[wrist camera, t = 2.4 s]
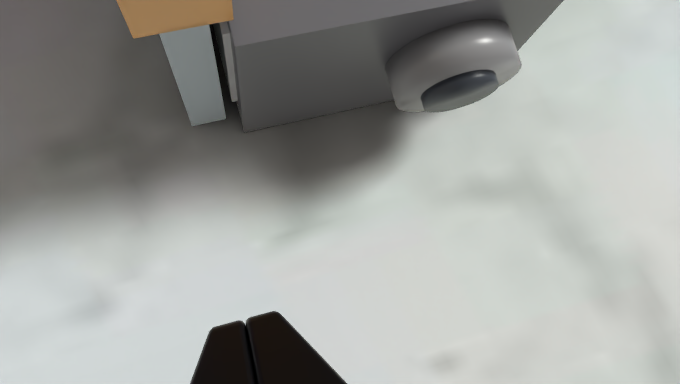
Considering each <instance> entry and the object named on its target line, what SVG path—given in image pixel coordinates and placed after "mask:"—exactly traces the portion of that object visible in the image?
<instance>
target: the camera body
mask: <svg viewBox="0 0 680 384" xmlns="http://www.w3.org/2000/svg"><path fill="white" fill-rule="evenodd" d="M562 2H563V0H232V8H233V18H234V20H231V21H225V22H220V23H214V24H213V27H214V31H215V35H216V39H217V43H218V47H219V51H220V55H221V60H222V64H223V68H224V72H225V76H226V80H227V84H228V88H229V92H230V96H231V100H232V102H234V101H236V102H237V106H238V110H239V114H240V118H241V122H242V126H243V130H244V133H245V132H249V131H254V130H258V129H263V128H268V127H272V126H277V125H281V124H286V123H291V122H295V121H300V120H304V119H309V118H314V117H318V116H323V115H327V114H332V113H337V112H341V111H346V110H350V109H355V108H360V107H364V106H369V105H373V104H378V103H383V102H387V101H392V100H394V101H395V104H396V107H397V108H398V109H399V110H401V111H406V112H423V111H427V112H443V111H448V110H453V109H456V108H460V107H463V106H466V105H469V104H471V103H474V102H476V101H479V100H481V99H483V98H485V97H486V96H488V95H490V94H491V93H493V92H494V91H495V90H496V89H497V88H498V87H499V86H501V85H502V84H504V83H505V82H507V81H508V80H510V79H511V78H512V77H514V76H515V75H516V74H517V73H518V71H519V70H520V68H521V65H522V64H521V61H520V58H519V55H518V52H517V51H518V50H519V49H520V48H521V47H522V45H523V44H524V43H525V42H526V41H527V40H528V39H529V38H530V37H531V36H532V35H533V33H534V32H535V31H536V30H537V29H538V28H539V27H540V26H541V25H542V24H543V22H544V21H545V20H546V19H547V18H548V17H549V16H550V15H551V14H552V13H553V11H554V10H555V9H556V8H557V7H558V6H559V5H560V4H561V3H562Z"/></svg>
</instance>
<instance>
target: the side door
mask: <svg viewBox="0 0 680 384" xmlns="http://www.w3.org/2000/svg"><path fill="white" fill-rule="evenodd" d="M116 1H117V3H118V6H119V8H120V10H121V12H122V14H123V17H124V19H125V21H126V23H127V25H128V28H129V30H130V32H131V34H132V37H133V39H134V38H139V37H145V36H150V35H156V34H159V35H160V38H161V41H162V44H163V46H164V49H165V52H166V55H167V58H168V60H169V63H170V66H171V69H172V72H173V74H174V77H175V80H176V83H177V86H178V88H179V91H180V94H181V97H182V100H183V102H184V105H185V108H186V111H187V114H188V116H189V119H190V122H191V125H192V126H195V125H200V124H204V123H209V122H214V121H219V120H223V119H226V114H225V109H224V103H223V98H222V92H221V87H220V81H219V76H218V70H217V65H216V60H215V54H214V49H213V43H212V38H211V32H210V27H209V24H214V23H220V22H225V21H231V20H234V18H233V8H232V0H116Z"/></svg>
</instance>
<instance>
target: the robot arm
mask: <svg viewBox="0 0 680 384" xmlns="http://www.w3.org/2000/svg"><path fill="white" fill-rule="evenodd" d="M190 384H347V383H346V382H345V381H344V380H343V379H342V378H341V377H340V376H339V375H338V373H337V372H336V371H335V370H334V369H333V368H332V367H331V366H330V365H329V364H328V363H327V362H326V361H325V360H324V359H323V358H322V357H321V356H320V355H319V354H318V353H317V351H316V350H315V349H314V348H313V347H312V346H311V345H310V344H309V343H308V342H307V341H306V340H305V339H304V338H303V337H302V336H301V335H300V334H299V333H298V332H297V331H296V330H295V328H294V327H293V326H292V325H291V324H290V323H289V322H288V321H287V320H286V319H285V318H284V317H283V316H282V315H281V314H280V313H278V312H276V311H272V312H268V313H265V314H261V315H257V316H253V317H250V318H248V319H247V320H246V326H245V323H244V322H243V321H235V322H231V323H227V324H224V325H220V326H216V327H214V328H212V329H211V330H210V332H209V334H208V336H207V339H206V342H205V344H204V347H203V350H202V353H201V355H200V358H199V361H198V363H197V366H196V369H195V372H194V374H193V377H192V380H191V383H190Z"/></svg>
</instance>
